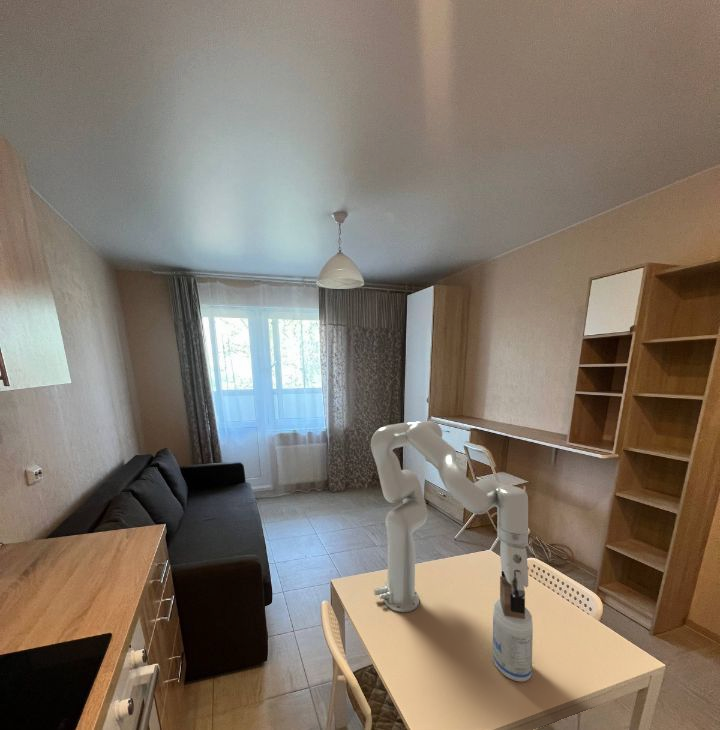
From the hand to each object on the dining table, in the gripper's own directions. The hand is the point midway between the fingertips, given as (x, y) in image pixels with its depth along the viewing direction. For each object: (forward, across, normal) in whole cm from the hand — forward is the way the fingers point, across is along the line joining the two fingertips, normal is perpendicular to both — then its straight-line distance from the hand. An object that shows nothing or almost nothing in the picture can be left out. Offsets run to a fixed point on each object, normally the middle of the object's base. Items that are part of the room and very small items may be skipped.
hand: (512, 598), depth 83 cm
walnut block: (+3, 0, 0) cm, 3 cm away
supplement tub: (+18, 0, 0) cm, 18 cm away
